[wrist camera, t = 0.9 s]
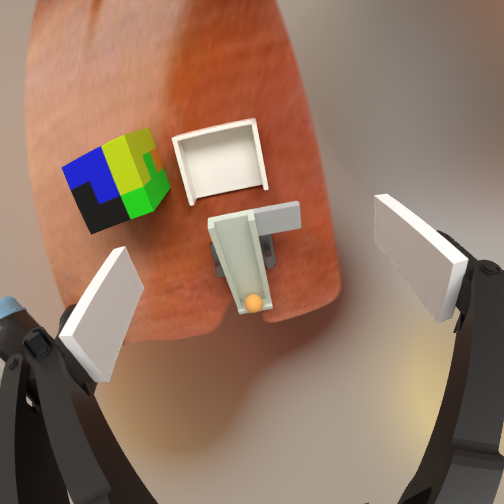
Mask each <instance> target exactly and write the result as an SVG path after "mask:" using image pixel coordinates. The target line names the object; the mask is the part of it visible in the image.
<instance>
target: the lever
mask: <svg viewBox="0 0 504 504" xmlns="http://www.w3.org/2000/svg"><path fill="white" fill-rule="evenodd" d="M299 228H301V216H300V204H299V202H298V201H294V202H288V203H283V204H277V205H272V206H266V207H261V208H256V209H251V210H246V211H241V212H236V213H231V214H226V215H221V216H216V217H211V218H208V231H209V233H210V236H211V239H212V242H213V244H214V247H215V250H216V253H217V255H218V258H219V261H220V263H221V266H222V269H223V271H224V274H225V277H226V279H227V282H228V284H229V287H230V290H231V292H232V295H233V297H234V300H235V303H236V305H237V308H238V312H239V314H244V313H250V312H249V311H248V310H247V309H246V308H245V305H244V301H245V299H246V297H247V296H249V295H251V294H257V295H259V296H260V297H261V298H262V300H263V307H262V309H261V310H260V311H262V310H267V309H272V308H273V307H272V301H271V296H270V291H269V286H268V281H267V276H266V271H265V266H264V261H263V256H262V251H261V246H260V241H259V236H262V235H267V234H272V233H278V232H283V231H288V230H294V229H299Z"/></svg>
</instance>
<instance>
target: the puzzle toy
mask: <svg viewBox="0 0 504 504" xmlns="http://www.w3.org/2000/svg"><path fill="white" fill-rule="evenodd" d="M62 170H63V172H64V175H65V177H66V180H67V182H68V185H69V187H70V190H71V192H72V194H73V197H74V199H75V201H76V203H77V206H78V208H79V210H80V212H81V214H82V217H83V219H84V221H85V223H86V225H87V227H88V229H89V231H90V233H91V234H94V233H96V232H99V231H102V230H104V229H107V228H109V227H112V226H115V225H117V224H120V223H123V222H125V221H128V220H131V219H133V218H136V217H139V216H142V215H145V214H147V213H150V212H153V211H154V210H155V209H156V207H157V206H158V205H159V203H160V202H161V200H162V199H163V198H164V196H165V195H166V194H167V192H168V191H169V190H170V188H171V187H170V185H169V182H168V179H167V177H166V174H165V171H164V168H163V166H162V163H161V160H160V157H159V155H158V152H157V149H156V146H155V143H154V141H153V138H152V135H151V132H150V129H149V128H145V129H142V130H138V131H135V132H132V133H128V134H125V135H123V136H121V137H118V138H116V139H114V140H112V141H110V142H108V143H106V144H104V145H102V146H100V147H98V148H96V149H94V150H92V151H90V152H89V153H87V154H85V155H83V156H81V157H79V158H77V159H76V160H74V161H72V162H70V163H69V164H67V165H65V166H64V167H62Z"/></svg>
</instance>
